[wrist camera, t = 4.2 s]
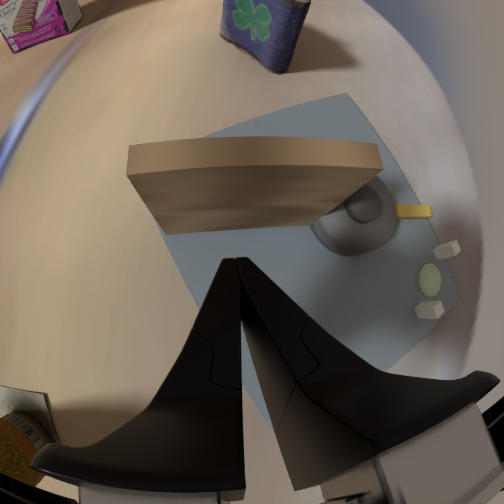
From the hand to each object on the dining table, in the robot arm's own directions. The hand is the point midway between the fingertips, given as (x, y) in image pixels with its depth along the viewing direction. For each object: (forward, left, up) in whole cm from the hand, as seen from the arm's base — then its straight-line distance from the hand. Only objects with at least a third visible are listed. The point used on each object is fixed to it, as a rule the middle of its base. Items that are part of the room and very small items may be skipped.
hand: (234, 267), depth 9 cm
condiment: (-4, +22, -10) cm, 24 cm away
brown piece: (+1, -8, -8) cm, 11 cm away
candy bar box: (+41, +8, -10) cm, 43 cm away
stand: (-1, -8, -9) cm, 12 cm away
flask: (+19, -13, -10) cm, 25 cm away
